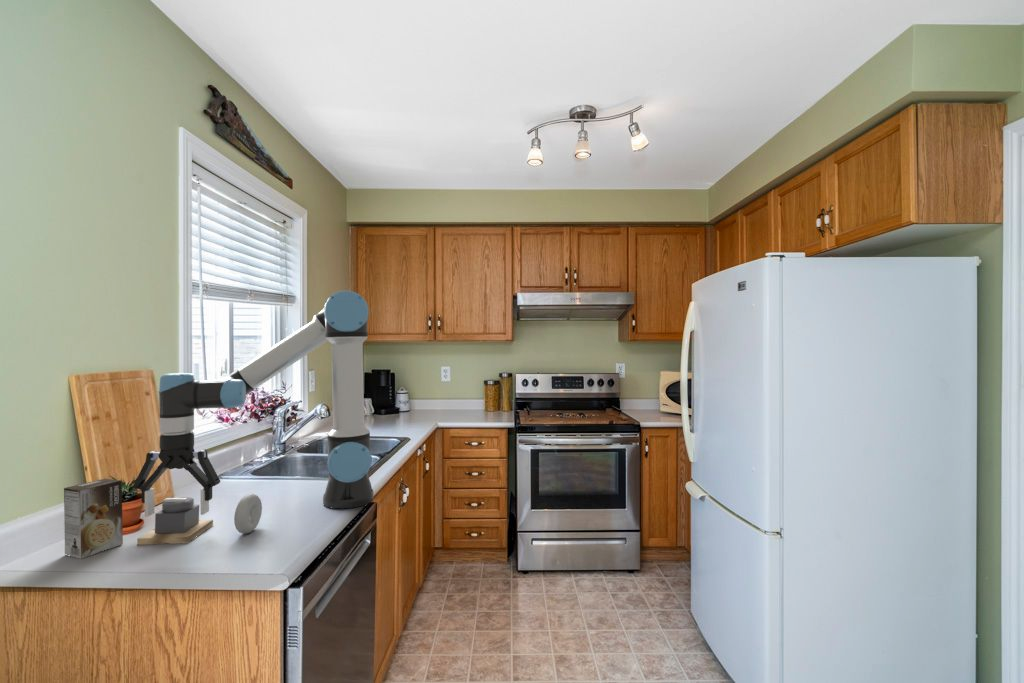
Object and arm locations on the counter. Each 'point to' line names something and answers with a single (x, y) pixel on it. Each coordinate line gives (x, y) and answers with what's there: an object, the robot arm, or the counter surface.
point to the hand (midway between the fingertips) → (177, 514)
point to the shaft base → (174, 535)
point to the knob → (177, 515)
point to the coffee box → (93, 517)
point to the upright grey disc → (248, 513)
